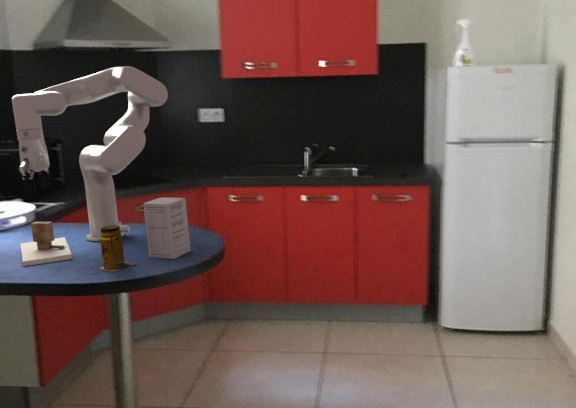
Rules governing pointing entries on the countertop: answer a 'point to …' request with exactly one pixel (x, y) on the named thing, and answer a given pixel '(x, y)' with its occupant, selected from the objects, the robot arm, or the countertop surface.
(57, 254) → the white rectangular slab
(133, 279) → the countertop surface
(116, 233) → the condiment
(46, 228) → the brown piece
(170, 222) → the supplement box
